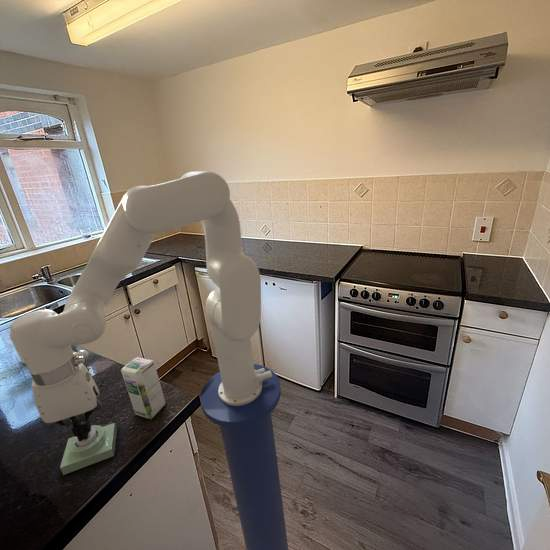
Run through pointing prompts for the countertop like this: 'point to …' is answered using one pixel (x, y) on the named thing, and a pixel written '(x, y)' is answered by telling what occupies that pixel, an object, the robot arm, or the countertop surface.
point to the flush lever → (82, 354)
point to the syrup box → (143, 387)
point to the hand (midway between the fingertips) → (84, 435)
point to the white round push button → (91, 438)
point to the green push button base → (89, 449)
